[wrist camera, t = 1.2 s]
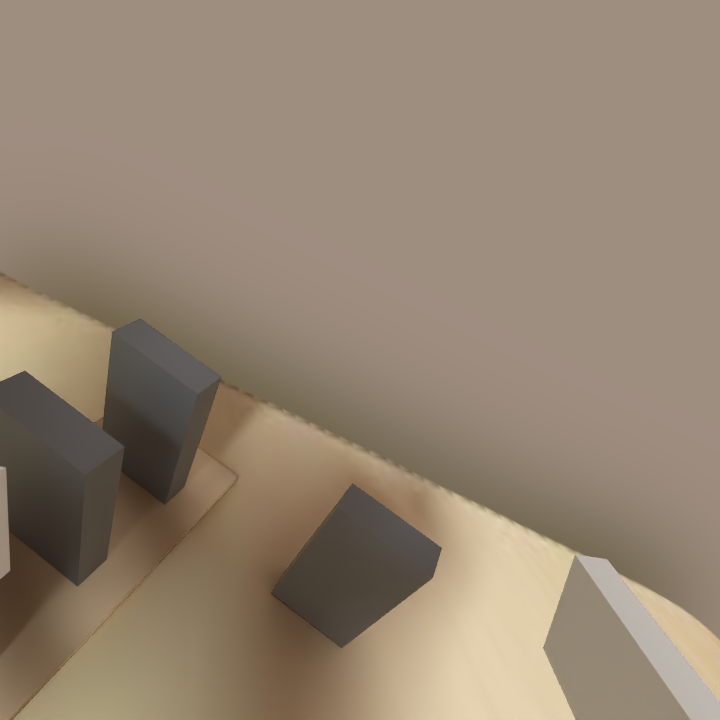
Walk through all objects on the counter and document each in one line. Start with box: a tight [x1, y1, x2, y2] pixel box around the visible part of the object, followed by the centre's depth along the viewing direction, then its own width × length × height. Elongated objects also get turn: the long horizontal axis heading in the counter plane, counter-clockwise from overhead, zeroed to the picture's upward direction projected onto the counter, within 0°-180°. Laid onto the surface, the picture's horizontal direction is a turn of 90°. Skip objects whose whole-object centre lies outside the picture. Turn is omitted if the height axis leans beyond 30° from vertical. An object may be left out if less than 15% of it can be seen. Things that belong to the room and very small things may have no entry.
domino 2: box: [102, 319, 221, 505], centre depth 23 cm, size 2×5×10 cm, turn 65°
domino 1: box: [0, 371, 125, 587], centre depth 18 cm, size 2×5×10 cm, turn 65°
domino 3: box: [271, 484, 442, 648], centre depth 22 cm, size 2×5×10 cm, turn 65°
